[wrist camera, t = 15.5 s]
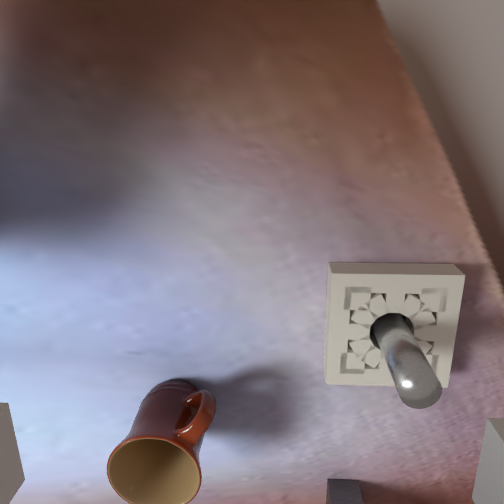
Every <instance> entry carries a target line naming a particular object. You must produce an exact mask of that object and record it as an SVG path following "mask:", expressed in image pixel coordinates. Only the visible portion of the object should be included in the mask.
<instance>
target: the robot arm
mask: <svg viewBox="0 0 504 504" xmlns="http://www.w3.org/2000/svg"><path fill="white" fill-rule="evenodd" d="M24 480H25V478H24V473H23V469H22V464H21V459H20V455H19V450H18V446H17V441H16V437H15V432H14V427H13V423H12V418H11V414H10V409H9V405H8V403H0V504H9V503H10V501H11V500H12V498H13V497H14V495H15V494H16V492H17V491H18V489H19V488H20V486H21V485H22V483H23V482H24ZM472 499H473V501H474V503H475V504H504V418H487V423H486V428H485V434H484V439H483V444H482V449H481V454H480V459H479V464H478V469H477V474H476V479H475V484H474V489H473V494H472Z"/></svg>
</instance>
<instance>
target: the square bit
mask: <svg viewBox="0 0 504 504" xmlns="http://www.w3.org/2000/svg"><path fill="white" fill-rule="evenodd" d="M326 504H363V499H362V494H361V490H360V485H359V480H347V479H328V481H327V497H326Z"/></svg>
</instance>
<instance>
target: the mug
mask: <svg viewBox="0 0 504 504" xmlns="http://www.w3.org/2000/svg"><path fill="white" fill-rule="evenodd" d="M215 410H216V399H215V397H214V395H213V394H212V393H210V392H209V391H207V390H205V389H202V390H198V389H197V388H195V387H194V386H192V385H191V384H189V383H186V382H183V381H166V382H162V383H160V384H158V385H156V386H155V387H154V388H153V389H152V390H151V391H150V392H149V393H148V394H147V395H146V397H145V398H144V400H143V401H142V403H141V405H140V407H139V410H138V413H137V415H136V417H135V420H134V422H133V425H132V428H131V430H130V432H129V434H128V435H127V437H126V438H125V439H124V440H123V441H122V442H121V443H120V444H119V445H118V446H117V447H116V448H115V449H114V450H113V452H112V453H111V455H110V457H109V459H108V463H107V475H108V479H109V482H110V484H111V486H112V487H113V489H114V490H115V491H116V493H117V494H118V495H119V496H120V497H121V498H123V499H124V500H125V501H127V502H128V503H130V504H187V503H189V502H190V501H191V500H192V499H193V498H194V497H195V496H196V494H197V493H198V491H199V489H200V486H201V478H202V476H201V468H200V462H199V452H200V448H201V445H202V442H203V438H204V433H205V432H206V430H207V429H208V427H209V426H210V424H211V422H212V420H213V418H214V415H215Z"/></svg>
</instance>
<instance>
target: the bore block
mask: <svg viewBox="0 0 504 504" xmlns="http://www.w3.org/2000/svg"><path fill="white" fill-rule="evenodd" d="M464 281H465V275H464V274H463V273H462V272H461V271H460V270H459V269H458V268H457V267H456V266H455V265H454V264H423V263H343V262H328V281H327V301H326V320H325V340H324V359H323V370H324V376H325V382H326V384H332V385H368V386H395V383H394V381H393V378H392V376H391V374H390V371H389V369H388V366H387V364H386V361H385V359H384V356H383V354H382V352H381V349H380V347H379V344H378V342H377V339H376V337H375V335H374V334H372V333H371V332H370V327H371V325H372V324H373V323H374V321H375V320H376V319H377V318H378V317H380V316H382V315H384V314H387V313H401V314H403V315H404V316H406V321H405V322H406V324H407V325H408V327H409V329H410V331H411V332H412V334H413V336H414V338H415V339H416V341H417V343H418V345H419V346H420V348H421V350H422V352H423V353H424V355H425V357H426V359H427V360H428V362H429V364H430V366H431V367H432V369H433V371H434V373H435V374H436V376H437V378H438V380H439V381H440V383H441V386H442V388H448V382H449V376H450V369H451V363H452V357H453V350H454V344H455V338H456V331H457V325H458V319H459V313H460V306H461V300H462V294H463V287H464Z"/></svg>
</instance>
